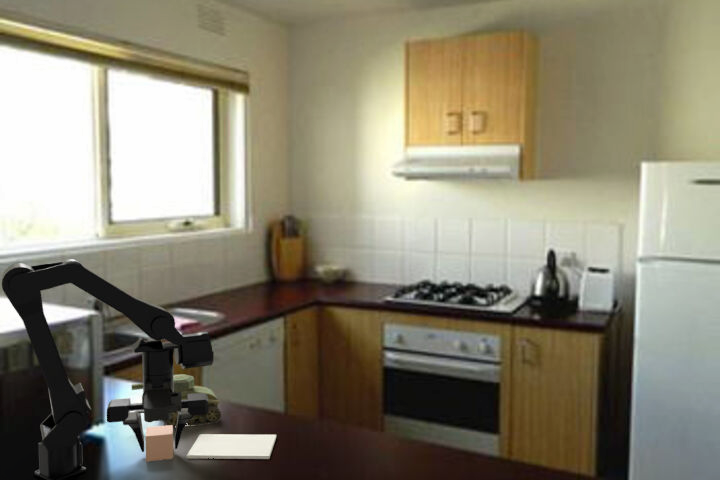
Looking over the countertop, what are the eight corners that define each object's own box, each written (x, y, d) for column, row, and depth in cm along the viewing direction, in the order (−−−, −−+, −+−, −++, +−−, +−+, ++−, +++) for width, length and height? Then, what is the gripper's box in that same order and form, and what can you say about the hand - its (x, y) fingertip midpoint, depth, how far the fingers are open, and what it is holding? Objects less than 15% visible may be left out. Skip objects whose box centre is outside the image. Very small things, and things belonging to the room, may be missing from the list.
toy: (131, 418, 153) (130, 375, 152) (213, 408, 160) (212, 367, 159) (134, 434, 143) (133, 388, 143) (221, 422, 150) (220, 378, 150)
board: (186, 458, 131) (186, 455, 130) (200, 436, 141) (200, 434, 141) (269, 458, 130) (269, 455, 130) (276, 437, 141) (276, 434, 141)
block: (146, 461, 129) (145, 436, 129) (147, 451, 134) (146, 427, 134) (173, 459, 130) (172, 434, 130) (173, 449, 135) (172, 425, 135)
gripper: (102, 387, 121) (104, 471, 122) (209, 380, 125) (210, 461, 127) (108, 370, 131) (110, 448, 133) (206, 364, 136) (207, 439, 137)
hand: (159, 449), depth 132 cm, fingers open, 6 cm apart
